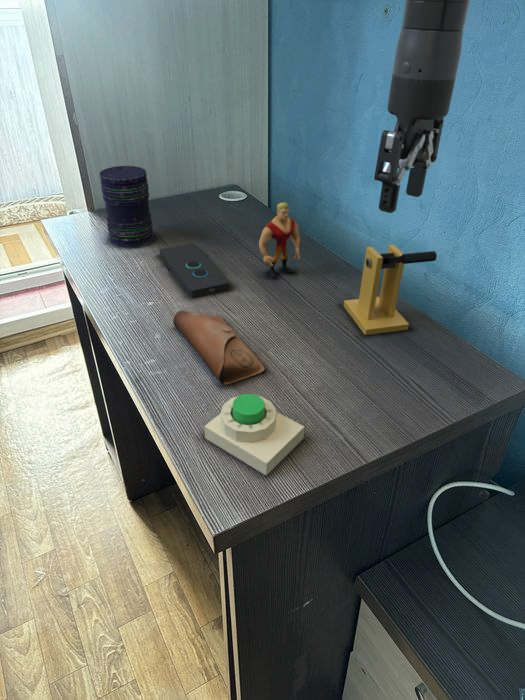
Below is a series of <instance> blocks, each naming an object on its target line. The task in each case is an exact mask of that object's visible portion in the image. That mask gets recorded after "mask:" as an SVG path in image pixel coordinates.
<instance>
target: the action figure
mask: <svg viewBox="0 0 525 700" xmlns="http://www.w3.org/2000/svg"><path fill="white" fill-rule="evenodd" d="M289 215H290V209H289V204H288V203H287V202H286V201H283V202H280V203H278V204H276V216H274V217H273V219H272V220H271V221H270V222H268V223H267V224H265V227H264V228H263V230H262V232H261V235H260V238H259V240H258V247H259V251H260V253H261V254H262V256H263V258H262V259H263V263H264V264H265V265H266V266H268V267H269V268H270V269H269V276H270V277H271V279H276V278H277V274H276V273H275V265H276V264H277V263H278V260H279V259H280V256H281V263H282V266H281V270H282V271H286V272H288V273H290V274H294V270H293V269H291V268H290V267H288V266H287V262H288V260H289V259H288V252H287V251H288V250H287V241H288V239H289V238H290V240H291V242H292V244H293V245H294V247H295V248H294V250H295V255H294V256H293V258H294V260H300V244H301V243H300V242H301V236H300V233H299V225H298V223H297V222H296V221H295V220H294V219H293V218H290V217H289ZM271 239H273V240H275V241H276V244H275V256H270V255H268V252H267V245H268V243H270V241H271ZM281 254H282V255H281Z"/></svg>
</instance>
